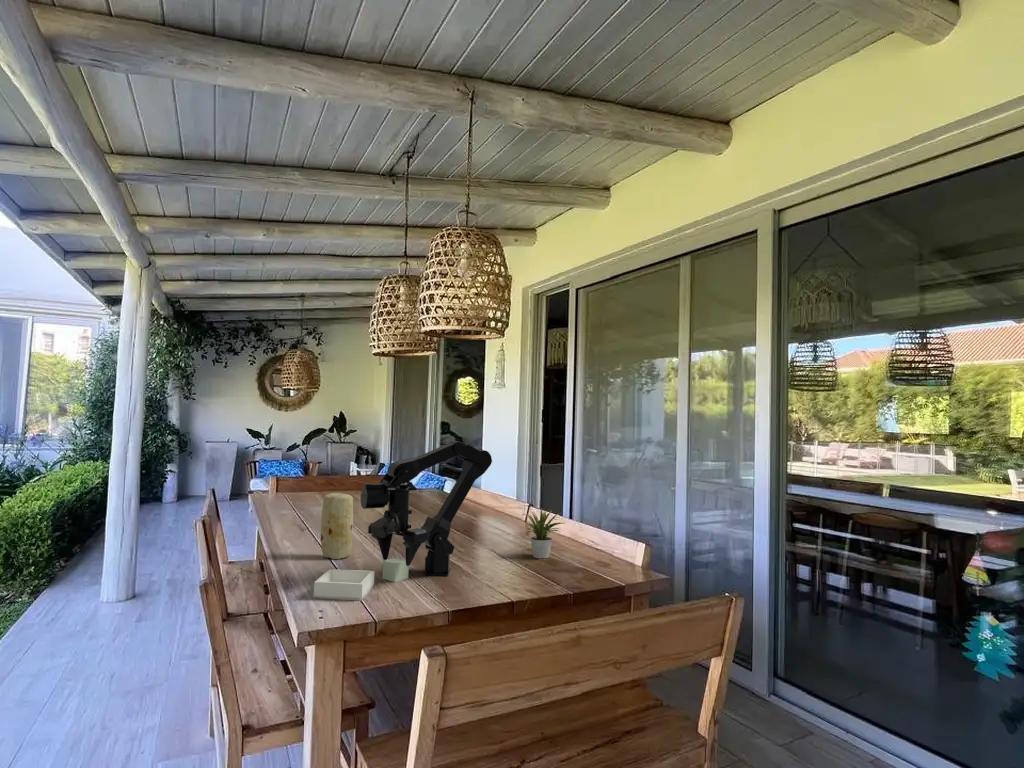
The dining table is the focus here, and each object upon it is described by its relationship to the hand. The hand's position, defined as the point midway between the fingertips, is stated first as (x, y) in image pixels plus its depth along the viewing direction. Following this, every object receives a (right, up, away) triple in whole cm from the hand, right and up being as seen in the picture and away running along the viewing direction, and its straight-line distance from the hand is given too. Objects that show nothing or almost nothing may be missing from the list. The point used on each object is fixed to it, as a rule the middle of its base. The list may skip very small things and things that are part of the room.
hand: (396, 562), depth 168 cm
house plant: (+41, -7, +28) cm, 50 cm away
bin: (-11, -3, -14) cm, 18 cm away
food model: (-23, -4, +19) cm, 30 cm away
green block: (0, -4, 0) cm, 4 cm away
